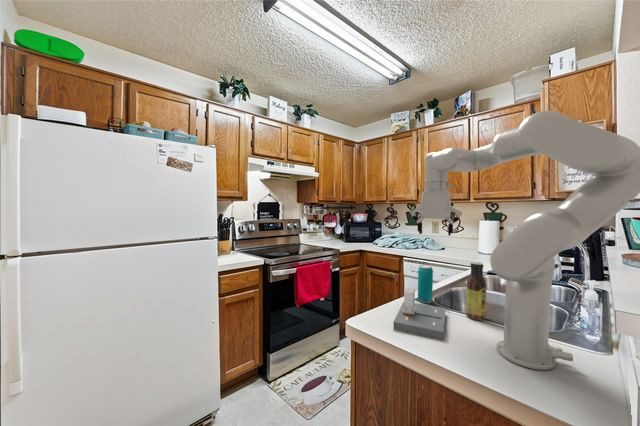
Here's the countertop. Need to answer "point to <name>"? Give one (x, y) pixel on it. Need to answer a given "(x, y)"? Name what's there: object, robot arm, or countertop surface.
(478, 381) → the countertop surface
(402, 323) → the panel
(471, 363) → the countertop surface
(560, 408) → the countertop surface
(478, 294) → the sauce bottle
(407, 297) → the slide lever
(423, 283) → the beverage can
